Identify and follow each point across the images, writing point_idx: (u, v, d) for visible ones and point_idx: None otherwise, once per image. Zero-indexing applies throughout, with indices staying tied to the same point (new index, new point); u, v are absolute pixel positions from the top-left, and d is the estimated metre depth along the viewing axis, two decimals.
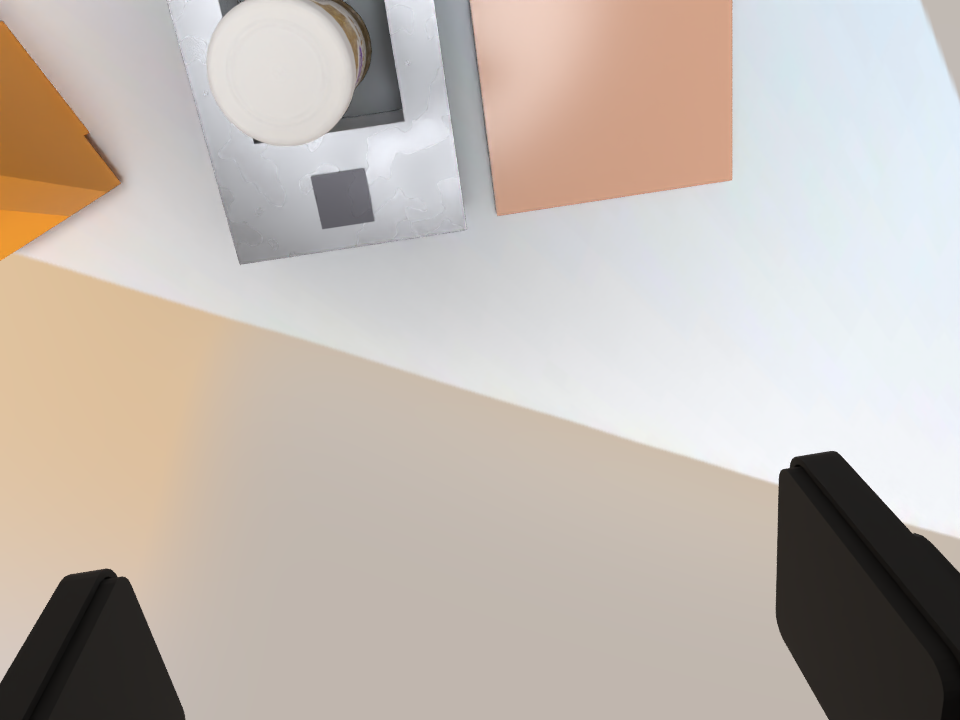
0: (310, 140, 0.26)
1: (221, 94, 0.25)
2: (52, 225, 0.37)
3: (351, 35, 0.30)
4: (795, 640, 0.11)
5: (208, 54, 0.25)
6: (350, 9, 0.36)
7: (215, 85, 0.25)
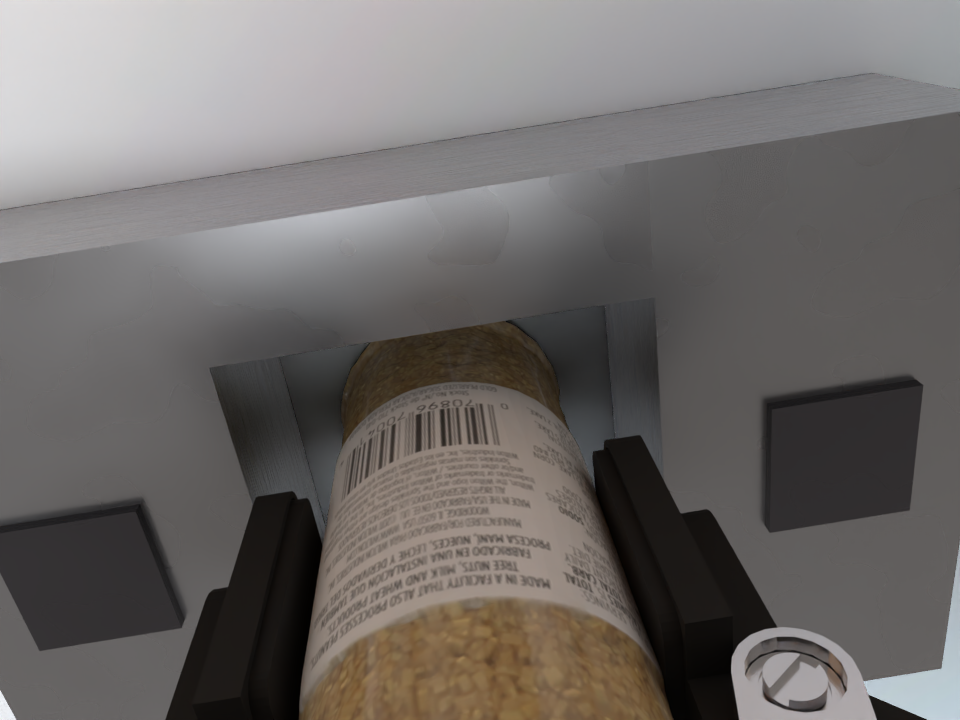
0: None
1: None
2: None
3: None
4: None
5: None
6: None
7: None
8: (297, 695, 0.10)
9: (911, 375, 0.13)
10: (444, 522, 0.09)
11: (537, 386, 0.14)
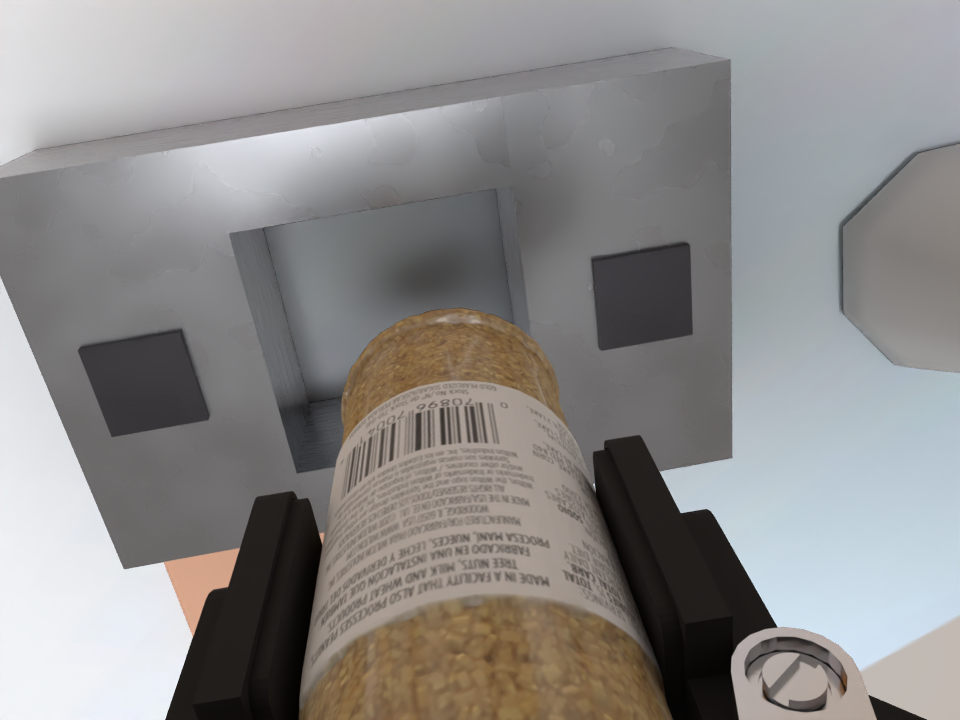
0: None
1: None
2: None
3: None
4: None
5: None
6: None
7: None
8: (297, 695, 0.10)
9: (684, 240, 0.20)
10: (443, 521, 0.10)
11: (537, 385, 0.14)
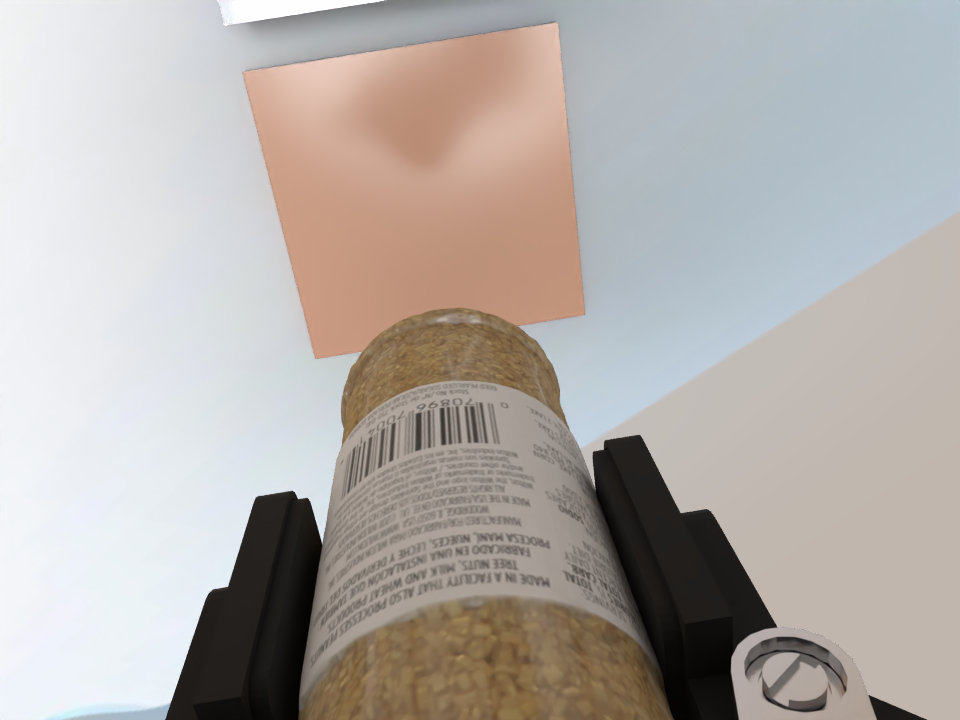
0: None
1: None
2: None
3: None
4: None
5: None
6: None
7: None
8: (297, 695, 0.10)
9: None
10: (443, 521, 0.09)
11: (537, 385, 0.14)
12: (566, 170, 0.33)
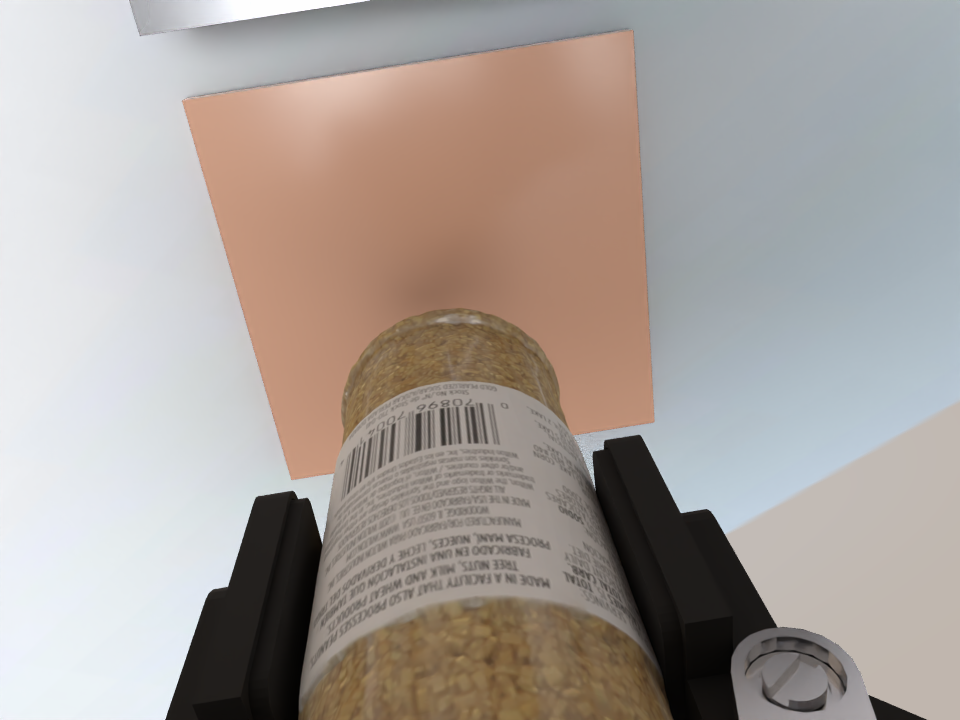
0: None
1: None
2: None
3: None
4: None
5: None
6: None
7: None
8: (297, 695, 0.10)
9: None
10: (443, 522, 0.09)
11: (537, 386, 0.14)
12: (637, 234, 0.24)
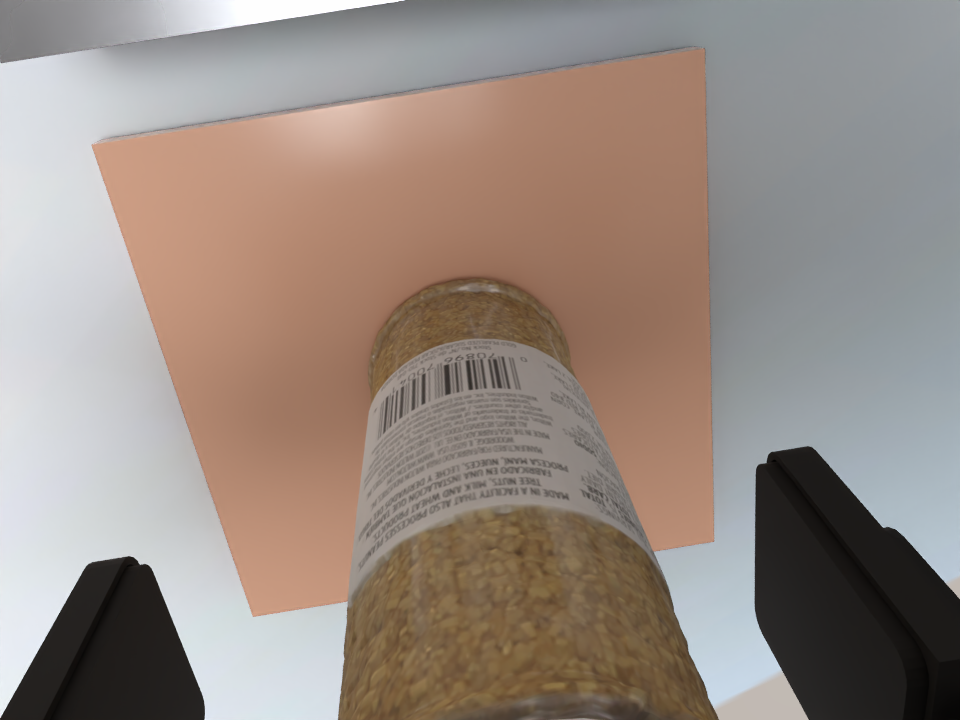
0: None
1: None
2: None
3: None
4: (772, 633, 0.12)
5: None
6: None
7: None
8: None
9: None
10: (474, 448, 0.11)
11: (552, 346, 0.15)
12: (700, 313, 0.18)
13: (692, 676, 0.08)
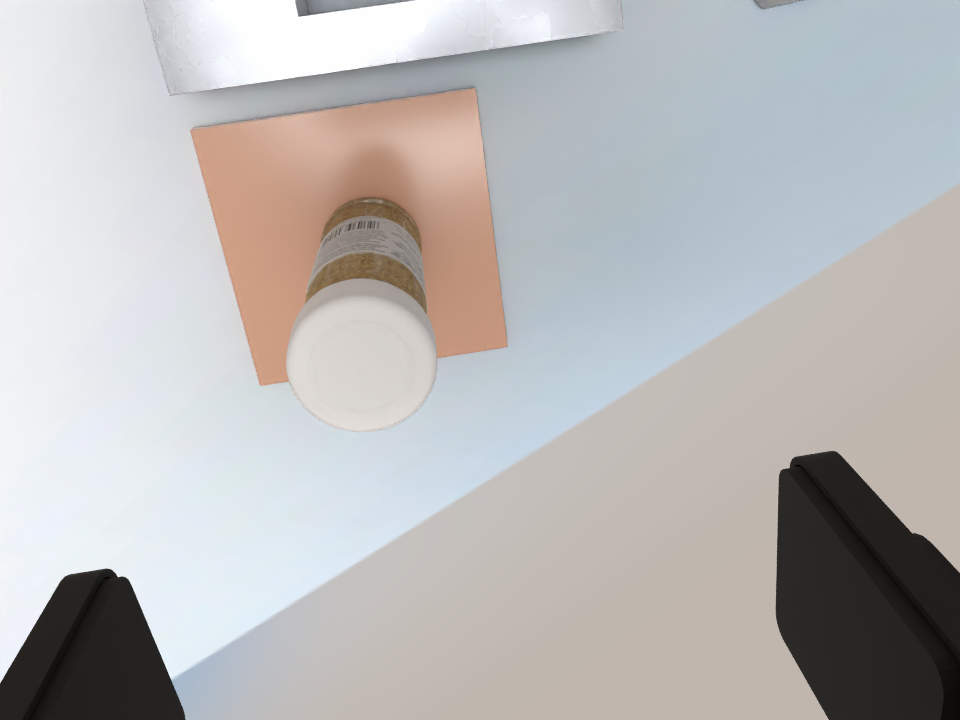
0: (294, 392, 0.24)
1: (338, 312, 0.23)
2: None
3: None
4: (795, 640, 0.11)
5: (379, 301, 0.23)
6: None
7: (347, 307, 0.23)
8: None
9: None
10: (354, 242, 0.29)
11: (403, 224, 0.33)
12: (487, 218, 0.36)
13: (413, 293, 0.26)
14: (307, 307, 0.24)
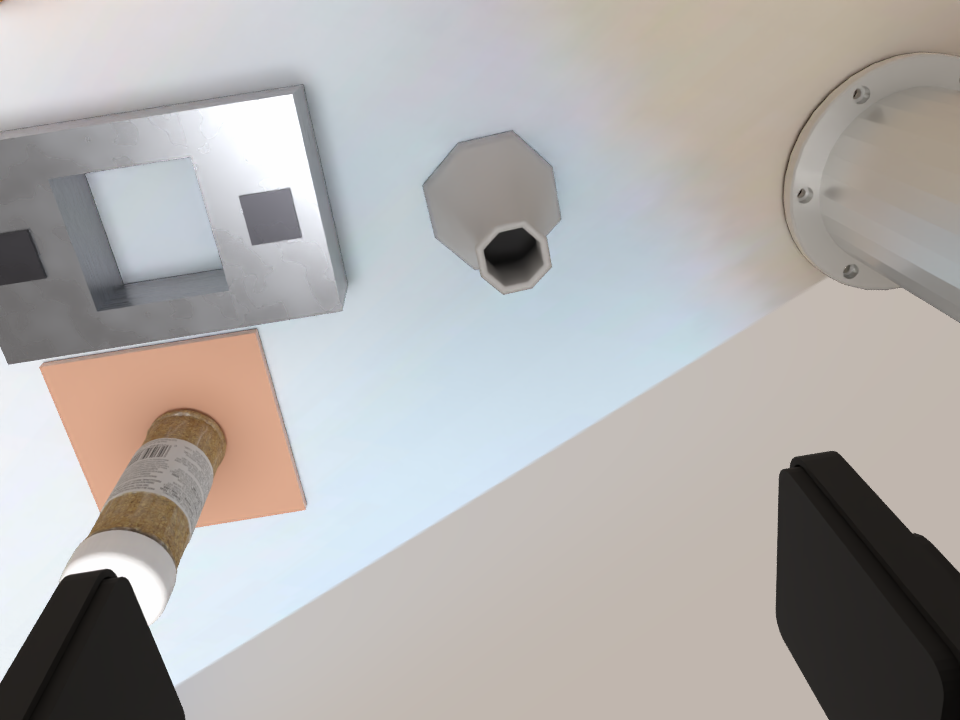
0: None
1: (88, 564, 0.34)
2: None
3: None
4: (795, 640, 0.11)
5: (116, 556, 0.34)
6: None
7: (94, 561, 0.34)
8: None
9: (288, 186, 0.38)
10: (137, 476, 0.40)
11: (199, 438, 0.44)
12: (276, 420, 0.47)
13: (164, 528, 0.37)
14: (74, 554, 0.35)
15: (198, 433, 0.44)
